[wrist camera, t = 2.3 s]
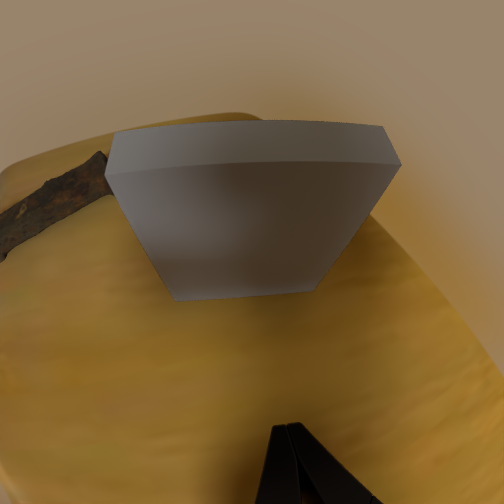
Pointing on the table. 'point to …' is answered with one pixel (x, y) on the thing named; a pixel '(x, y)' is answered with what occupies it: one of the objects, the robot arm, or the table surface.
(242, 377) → the table surface
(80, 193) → the dark brown rough rod
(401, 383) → the table surface
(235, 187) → the tile
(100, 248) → the table surface
